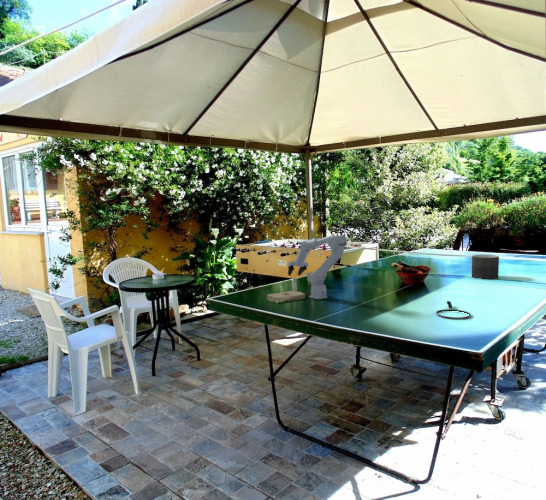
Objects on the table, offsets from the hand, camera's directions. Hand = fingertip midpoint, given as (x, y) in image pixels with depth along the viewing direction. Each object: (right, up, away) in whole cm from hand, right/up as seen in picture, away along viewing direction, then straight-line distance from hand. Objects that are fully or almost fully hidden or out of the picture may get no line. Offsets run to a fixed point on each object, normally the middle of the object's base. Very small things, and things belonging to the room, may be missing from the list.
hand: (293, 274), depth 287 cm
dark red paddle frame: (+79, -17, -57) cm, 99 cm away
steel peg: (0, -12, -1) cm, 12 cm away
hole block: (-6, -14, -15) cm, 21 cm away
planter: (+142, -4, +37) cm, 146 cm away
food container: (+15, -10, +22) cm, 28 cm away
